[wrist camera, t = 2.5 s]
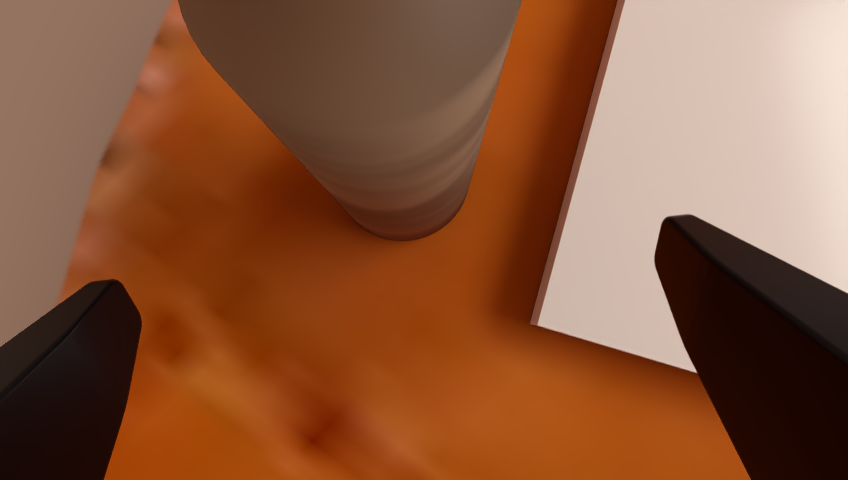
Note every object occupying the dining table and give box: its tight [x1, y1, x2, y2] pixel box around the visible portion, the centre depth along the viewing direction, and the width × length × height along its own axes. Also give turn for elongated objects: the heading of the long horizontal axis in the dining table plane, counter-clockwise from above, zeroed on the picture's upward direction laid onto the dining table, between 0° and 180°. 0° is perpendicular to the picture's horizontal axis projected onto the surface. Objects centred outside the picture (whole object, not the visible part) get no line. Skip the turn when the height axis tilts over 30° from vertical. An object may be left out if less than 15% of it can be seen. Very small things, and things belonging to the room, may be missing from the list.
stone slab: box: [530, 0, 848, 374], centre depth 20 cm, size 16×12×2 cm
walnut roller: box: [178, 0, 522, 241], centre depth 14 cm, size 5×5×13 cm
